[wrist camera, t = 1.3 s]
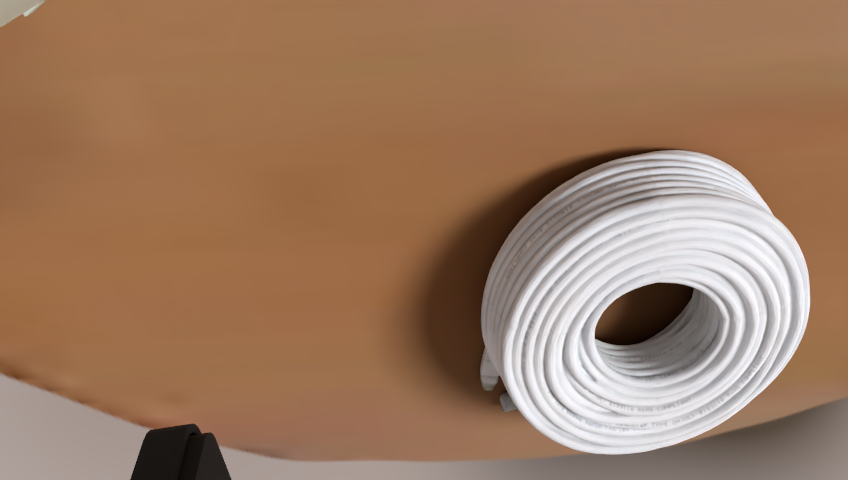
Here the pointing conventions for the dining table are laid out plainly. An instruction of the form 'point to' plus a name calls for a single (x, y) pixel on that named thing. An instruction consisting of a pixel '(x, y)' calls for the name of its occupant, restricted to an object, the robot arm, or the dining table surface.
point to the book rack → (17, 9)
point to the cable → (632, 268)
